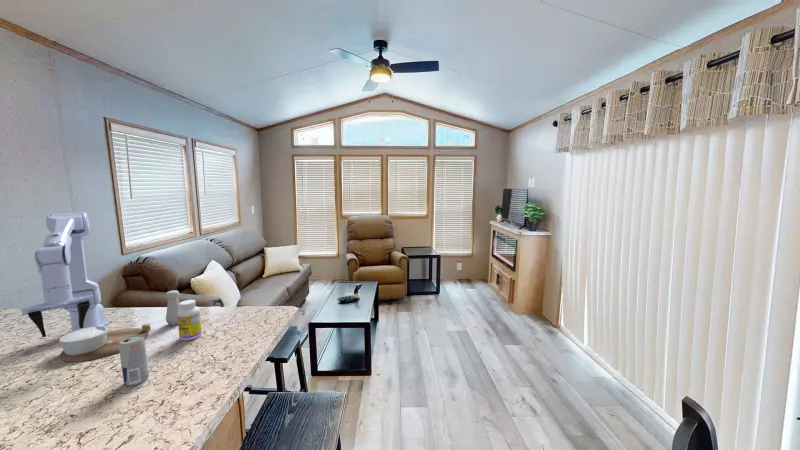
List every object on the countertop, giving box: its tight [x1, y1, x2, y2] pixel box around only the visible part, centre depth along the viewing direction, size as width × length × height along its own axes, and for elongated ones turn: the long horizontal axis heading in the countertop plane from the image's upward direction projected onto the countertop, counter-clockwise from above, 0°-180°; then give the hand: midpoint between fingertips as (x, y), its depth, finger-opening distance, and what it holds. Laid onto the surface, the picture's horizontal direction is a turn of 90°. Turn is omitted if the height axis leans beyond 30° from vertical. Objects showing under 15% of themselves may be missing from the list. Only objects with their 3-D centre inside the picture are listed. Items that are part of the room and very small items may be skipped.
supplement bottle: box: [177, 299, 203, 342], centre depth 112 cm, size 7×7×13 cm
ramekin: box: [58, 326, 109, 356], centre depth 104 cm, size 11×11×5 cm
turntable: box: [59, 323, 151, 363], centre depth 108 cm, size 22×22×2 cm
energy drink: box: [119, 335, 150, 387], centre depth 87 cm, size 5×5×12 cm
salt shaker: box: [165, 289, 181, 327], centre depth 123 cm, size 6×6×13 cm
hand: (63, 331), depth 95 cm, fingers open, 7 cm apart
